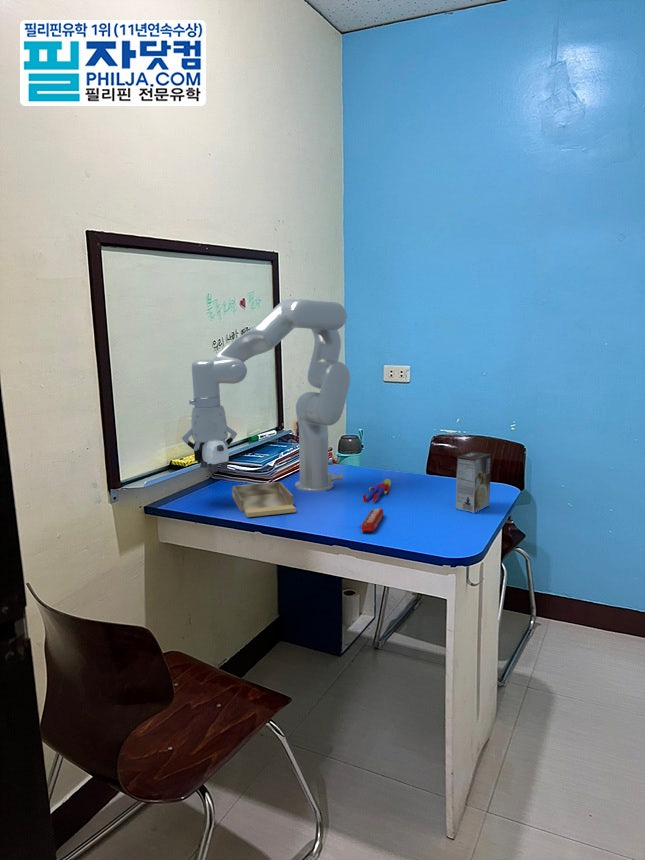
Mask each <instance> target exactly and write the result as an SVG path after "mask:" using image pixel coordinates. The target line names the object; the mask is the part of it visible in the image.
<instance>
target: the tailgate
mask: <svg viewBox="0 0 645 860" xmlns="http://www.w3.org/2000/svg"><path fill="white" fill-rule="evenodd" d="M296 512H297V508H296V507H295V506H294V504H293V505H284V506H274V507H264V508H255V509H245V512H244V515H245V516H246V517H247V518H252V517H253V518H254V517H263V516H271V515H280V514H291V513H296Z"/></svg>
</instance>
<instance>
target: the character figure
mask: <svg viewBox="0 0 645 860" xmlns="http://www.w3.org/2000/svg"><path fill="white" fill-rule="evenodd" d="M391 485H392V481H391V479H390V478H386V479H385V480H383V482H381V483H379V484H376V486H374V487H369V488H368V490H369V492H370V491H371V492H370V493H369V495H368V496H367V495H366V494H363V495H362V499H363V503H364V502H366V503H368V502H369V501H370V500H371V499H372V502H373V503H375V502H376V500H377V499H379V497H380V496H381V494H383V495H386V494H387V493H388V494H389V492H390V490H391V489H390V487H391ZM385 490H386V491H385ZM388 494H387V495H388ZM367 501H368V502H367Z"/></svg>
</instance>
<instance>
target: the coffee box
mask: <svg viewBox="0 0 645 860" xmlns="http://www.w3.org/2000/svg"><path fill="white" fill-rule="evenodd" d="M491 463H492V454H491V453H486V452H485V453H484V452H479V451H478V452H477V451H470V452H467V453H465V454H461V455H459V456H457V457H456V479H455V480H456V481H455V483H456V487H455V489H456V490H455V509H456V508H457V509H462V510H466V511H471V512H476V511H478V510H480V509H482V508H485V507H487V506H489V507H490V499H491V498H490V497H491V492H490V491H491V473H492V472H491V471H492V470H491V469H492V468H491V467H492V464H491ZM487 508H488V507H487ZM485 509H486V508H485ZM478 512H479V511H478ZM476 513H477V512H476Z"/></svg>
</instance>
